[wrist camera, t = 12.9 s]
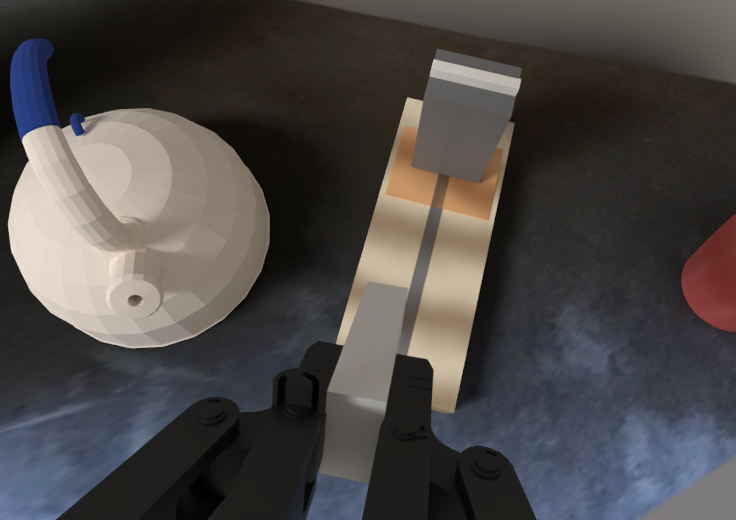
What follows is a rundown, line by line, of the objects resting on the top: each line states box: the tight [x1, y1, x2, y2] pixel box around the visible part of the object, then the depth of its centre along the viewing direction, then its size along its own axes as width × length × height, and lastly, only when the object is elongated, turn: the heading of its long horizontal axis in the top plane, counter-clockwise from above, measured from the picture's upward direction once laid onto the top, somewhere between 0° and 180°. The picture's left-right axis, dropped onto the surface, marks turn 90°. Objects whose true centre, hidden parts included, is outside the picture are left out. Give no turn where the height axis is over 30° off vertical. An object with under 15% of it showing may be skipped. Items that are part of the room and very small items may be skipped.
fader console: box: [336, 98, 515, 414], centre depth 43 cm, size 26×10×3 cm, turn 165°
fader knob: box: [411, 49, 522, 183], centre depth 39 cm, size 4×6×11 cm, turn 75°
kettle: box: [8, 38, 270, 348], centre depth 36 cm, size 20×21×18 cm
